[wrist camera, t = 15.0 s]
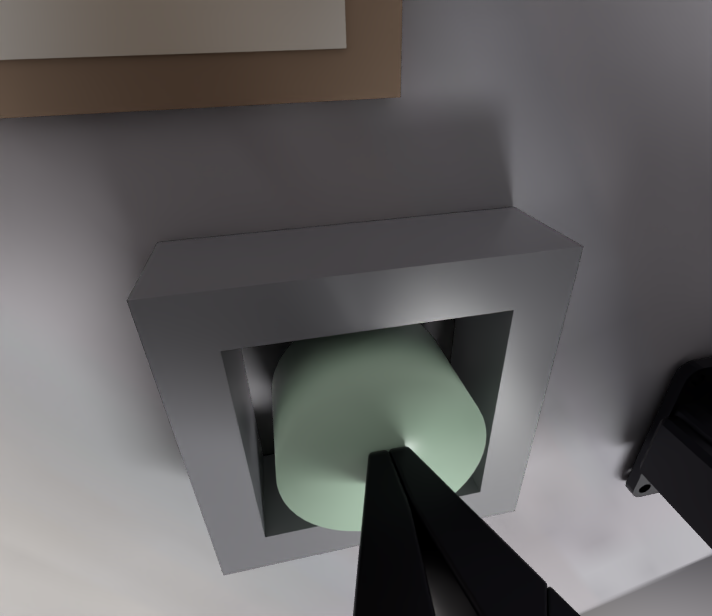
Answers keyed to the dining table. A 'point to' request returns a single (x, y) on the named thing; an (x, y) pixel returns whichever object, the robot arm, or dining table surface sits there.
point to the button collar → (341, 316)
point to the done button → (366, 418)
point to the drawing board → (194, 54)
